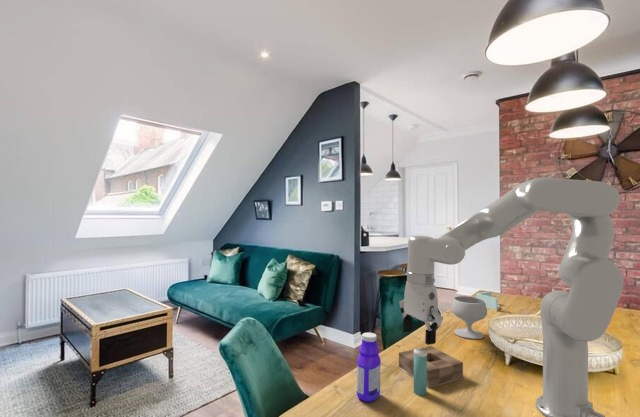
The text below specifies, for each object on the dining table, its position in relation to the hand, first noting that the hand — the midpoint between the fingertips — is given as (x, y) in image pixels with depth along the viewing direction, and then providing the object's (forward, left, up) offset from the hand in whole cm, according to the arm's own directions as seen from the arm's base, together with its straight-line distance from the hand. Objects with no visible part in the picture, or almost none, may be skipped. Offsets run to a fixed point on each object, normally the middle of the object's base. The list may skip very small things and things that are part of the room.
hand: (418, 337), depth 97 cm
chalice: (+28, -51, -16) cm, 61 cm away
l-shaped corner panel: (+53, -98, -17) cm, 113 cm away
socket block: (+8, -11, -16) cm, 21 cm away
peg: (0, 0, -16) cm, 16 cm away
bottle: (+4, +15, -16) cm, 22 cm away
